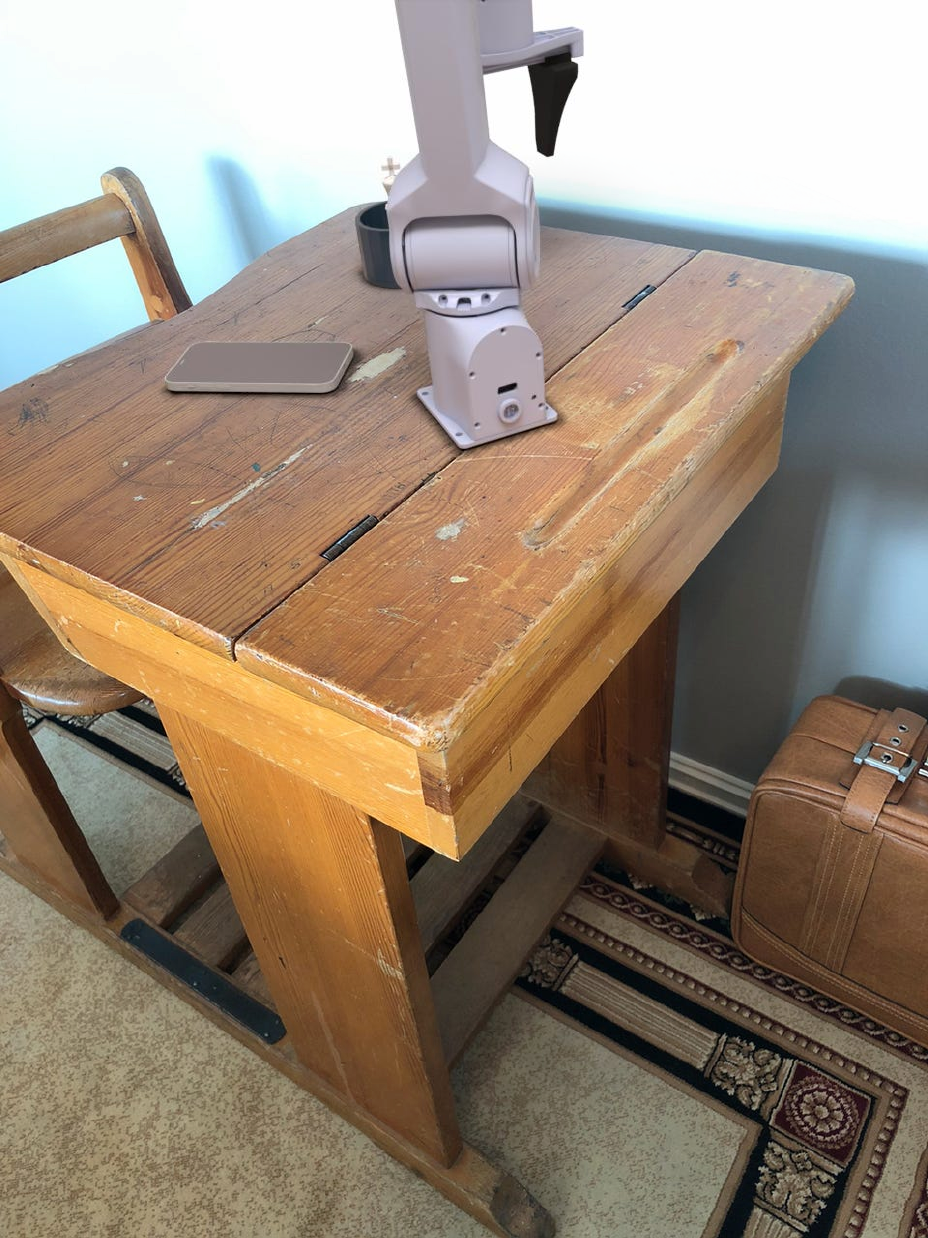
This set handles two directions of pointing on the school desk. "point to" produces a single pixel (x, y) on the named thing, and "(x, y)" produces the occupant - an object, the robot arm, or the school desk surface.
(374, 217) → the pen holder
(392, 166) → the chess piece
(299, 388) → the smartphone
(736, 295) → the school desk surface
